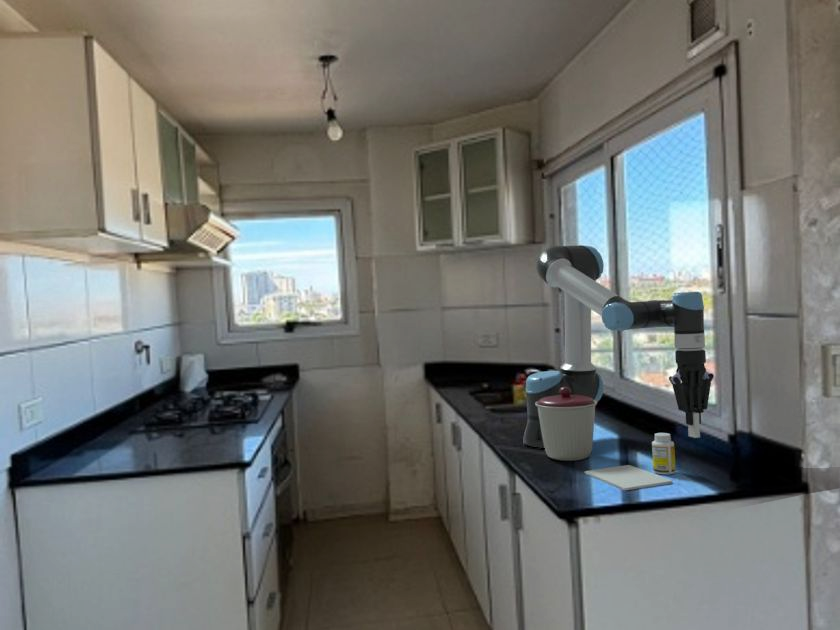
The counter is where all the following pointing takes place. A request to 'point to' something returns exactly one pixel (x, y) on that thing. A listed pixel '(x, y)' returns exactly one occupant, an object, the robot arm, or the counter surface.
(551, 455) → the canister
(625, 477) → the mat
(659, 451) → the supplement bottle
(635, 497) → the counter surface
